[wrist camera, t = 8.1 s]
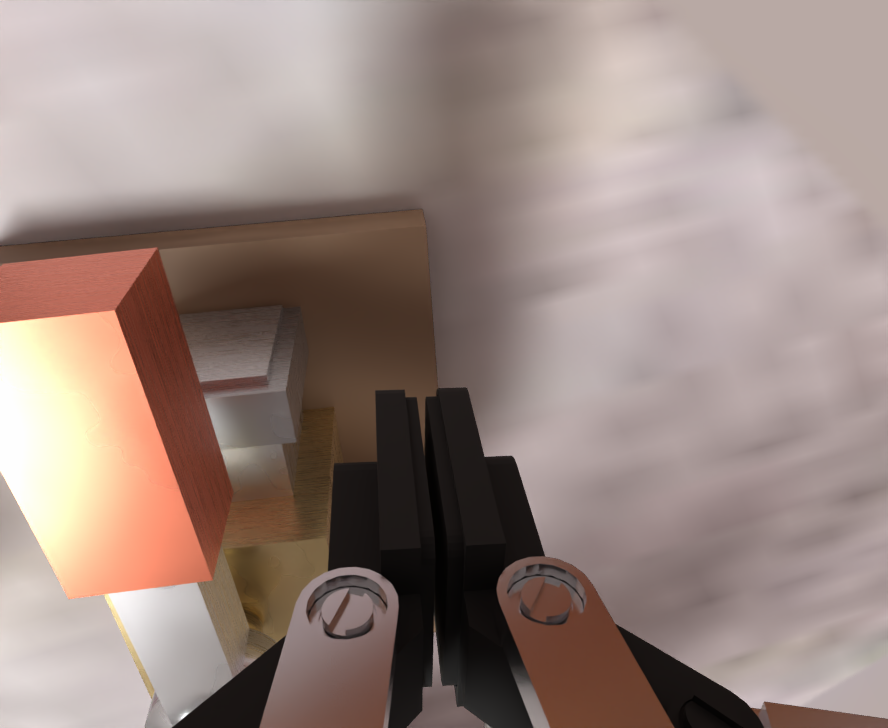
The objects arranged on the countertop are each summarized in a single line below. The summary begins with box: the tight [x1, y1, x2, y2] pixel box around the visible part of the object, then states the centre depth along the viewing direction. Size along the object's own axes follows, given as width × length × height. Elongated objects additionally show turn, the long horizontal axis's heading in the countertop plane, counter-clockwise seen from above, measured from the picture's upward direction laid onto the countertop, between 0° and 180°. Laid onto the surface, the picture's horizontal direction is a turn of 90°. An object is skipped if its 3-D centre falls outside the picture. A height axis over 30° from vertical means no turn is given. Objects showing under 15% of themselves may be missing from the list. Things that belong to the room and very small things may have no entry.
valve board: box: [0, 209, 438, 632], centre depth 25 cm, size 18×13×2 cm
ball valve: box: [104, 305, 344, 699], centre depth 22 cm, size 14×6×7 cm, turn 3°
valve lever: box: [0, 247, 277, 728], centre depth 15 cm, size 13×3×3 cm, turn 5°
